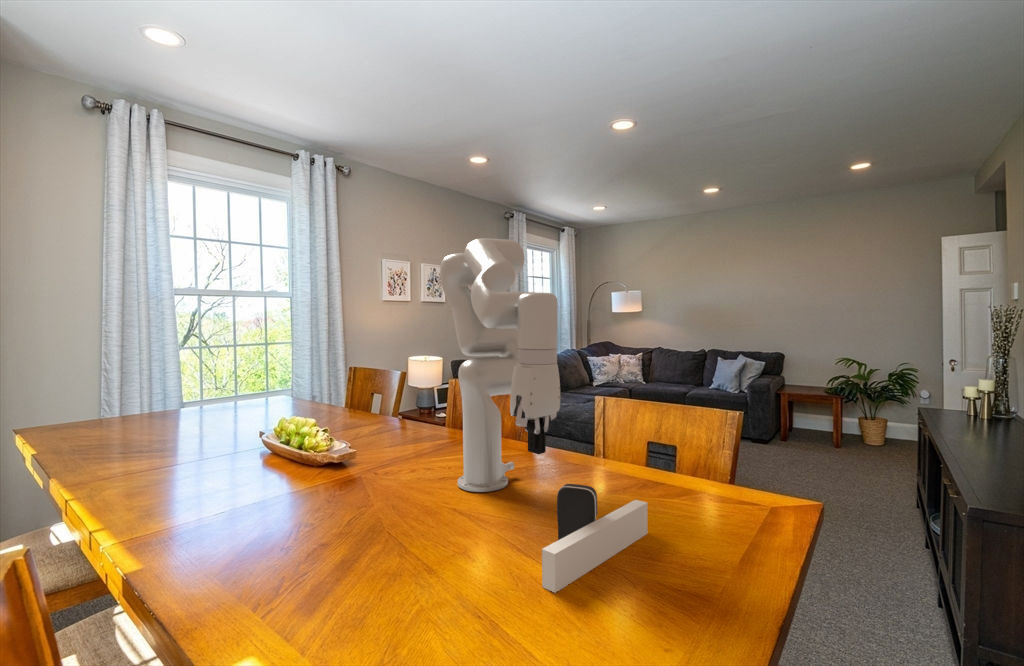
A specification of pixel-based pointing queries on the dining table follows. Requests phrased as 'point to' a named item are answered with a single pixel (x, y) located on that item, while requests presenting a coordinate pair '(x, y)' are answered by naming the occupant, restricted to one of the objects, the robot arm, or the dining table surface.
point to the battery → (575, 508)
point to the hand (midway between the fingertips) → (536, 451)
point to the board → (592, 545)
